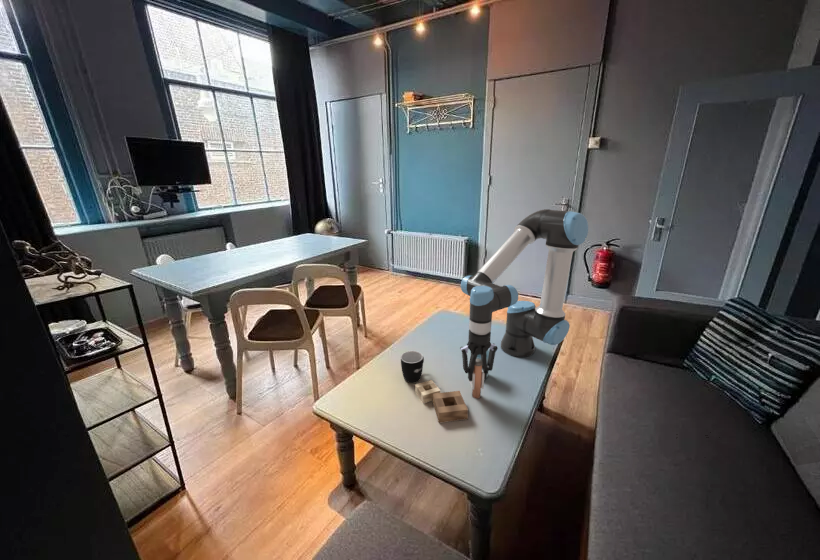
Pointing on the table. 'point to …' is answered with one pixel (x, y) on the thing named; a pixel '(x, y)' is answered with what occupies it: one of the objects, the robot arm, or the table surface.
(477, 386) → the dowel
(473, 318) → the robot arm
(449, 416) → the brown wooden square frame
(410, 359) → the mug
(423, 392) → the bead beech
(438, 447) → the table surface
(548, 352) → the table surface
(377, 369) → the table surface
